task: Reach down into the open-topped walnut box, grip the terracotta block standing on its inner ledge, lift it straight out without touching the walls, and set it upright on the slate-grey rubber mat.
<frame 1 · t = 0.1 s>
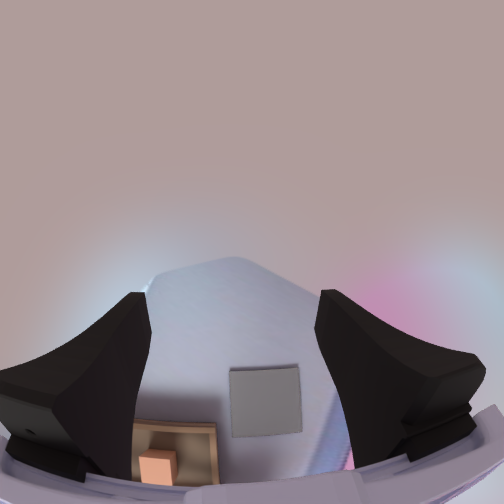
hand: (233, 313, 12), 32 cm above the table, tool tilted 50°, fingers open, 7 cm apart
walnut box: (165, 459, 33), on the table
slate mat: (265, 403, 38), on the table
terracotta block: (163, 462, 32), point 1 cm above the table, touching walnut box
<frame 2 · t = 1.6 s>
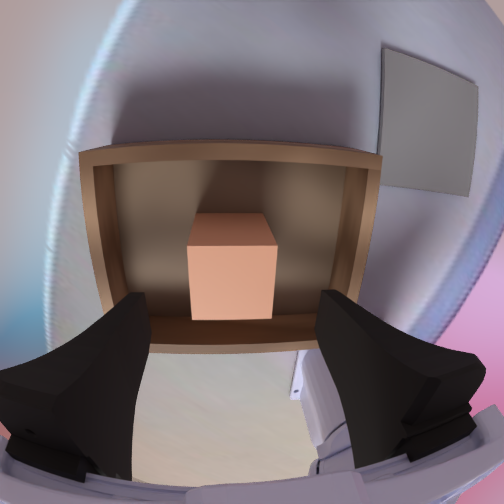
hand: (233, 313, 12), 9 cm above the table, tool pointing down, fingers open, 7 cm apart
walnut box: (228, 235, 20), on the table
slate mat: (433, 127, 18), on the table
terracotta block: (229, 244, 18), point 1 cm above the table, touching walnut box
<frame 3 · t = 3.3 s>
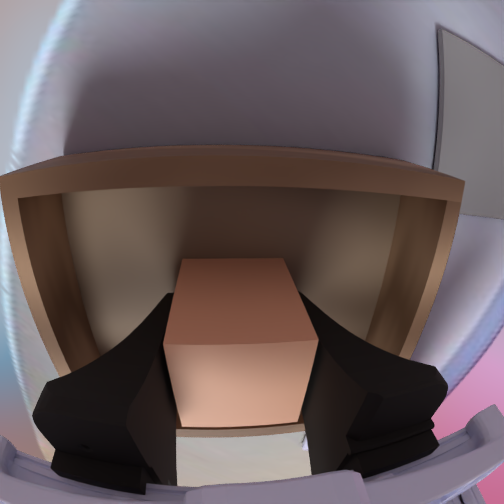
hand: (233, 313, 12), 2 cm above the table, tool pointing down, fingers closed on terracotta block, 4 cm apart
walnut box: (231, 283, 14), on the table
slate mat: (493, 136, 12), on the table
terracotta block: (232, 300, 13), point 1 cm above the table, touching gripper, walnut box
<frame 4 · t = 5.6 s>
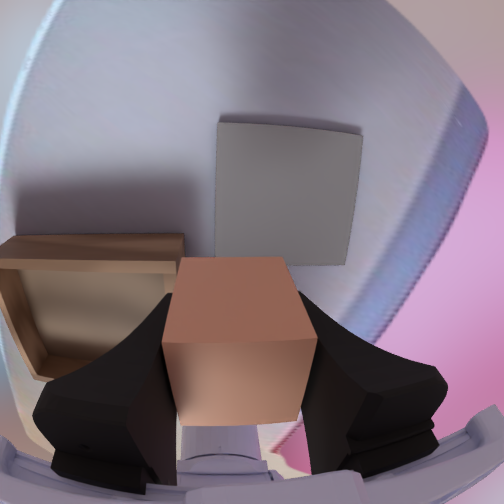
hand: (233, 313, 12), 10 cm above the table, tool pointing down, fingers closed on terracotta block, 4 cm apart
walnut box: (99, 304, 22), on the table
slate mat: (288, 198, 20), on the table
terracotta block: (231, 299, 13), point 9 cm above the table, touching gripper
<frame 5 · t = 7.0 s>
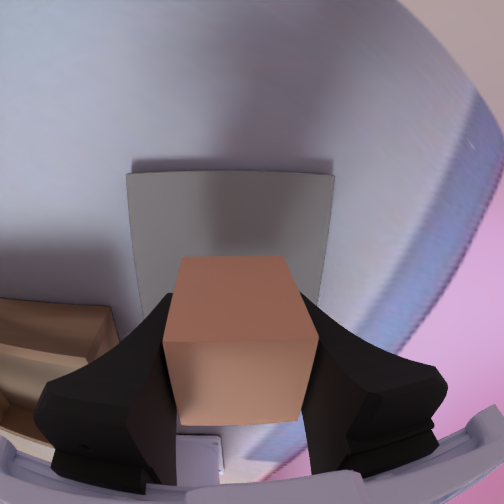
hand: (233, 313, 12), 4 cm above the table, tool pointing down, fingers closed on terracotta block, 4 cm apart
walnut box: (44, 366, 18), on the table
slate mat: (229, 265, 16), on the table
terracotta block: (232, 299, 12), point 3 cm above the table, touching gripper
when the fingers open (3 cm above the table, at t = 8.1 s): terracotta block drops 2 cm, resting on slate mat.
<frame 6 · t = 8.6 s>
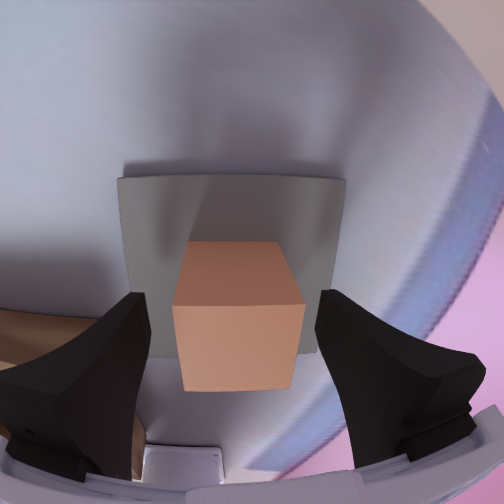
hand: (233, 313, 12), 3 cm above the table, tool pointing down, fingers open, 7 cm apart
walnut box: (38, 377, 16), on the table
slate mat: (230, 277, 14), on the table
terracotta block: (231, 280, 14), resting on slate mat
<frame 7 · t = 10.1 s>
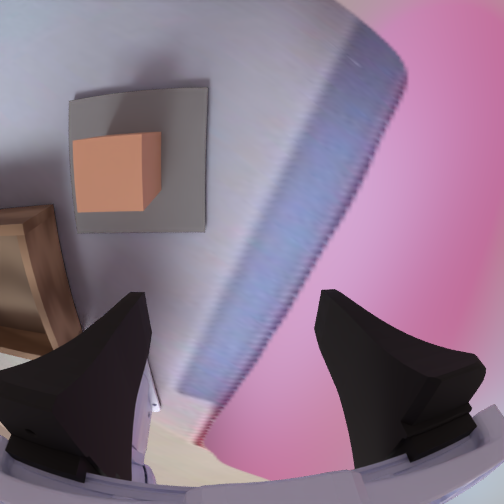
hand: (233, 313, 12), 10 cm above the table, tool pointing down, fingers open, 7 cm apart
walnut box: (5, 273, 20), on the table
slate mat: (133, 162, 18), on the table
terracotta block: (132, 162, 18), resting on slate mat
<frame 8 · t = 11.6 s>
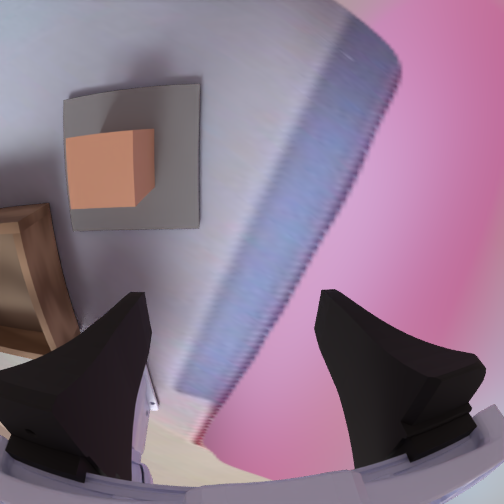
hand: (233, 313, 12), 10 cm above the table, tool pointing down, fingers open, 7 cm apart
walnut box: (3, 272, 20), on the table
slate mat: (127, 159, 18), on the table
terracotta block: (126, 159, 18), resting on slate mat
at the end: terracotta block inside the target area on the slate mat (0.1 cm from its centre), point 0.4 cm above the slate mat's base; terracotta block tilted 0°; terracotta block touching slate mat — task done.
